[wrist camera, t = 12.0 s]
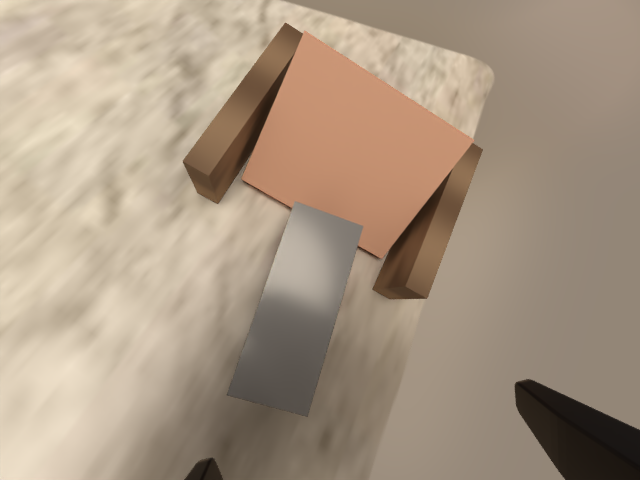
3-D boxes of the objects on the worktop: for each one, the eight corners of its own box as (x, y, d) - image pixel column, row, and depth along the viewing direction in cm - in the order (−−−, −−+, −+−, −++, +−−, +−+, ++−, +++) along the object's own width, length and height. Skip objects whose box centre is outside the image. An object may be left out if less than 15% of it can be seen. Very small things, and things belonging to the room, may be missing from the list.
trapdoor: (379, 236, 26) (381, 259, 22) (258, 167, 25) (241, 179, 21) (456, 133, 22) (474, 140, 18) (314, 42, 20) (304, 30, 17)
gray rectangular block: (344, 237, 22) (298, 388, 20) (288, 217, 22) (234, 370, 19) (363, 226, 18) (307, 417, 16) (294, 201, 17) (226, 395, 15)
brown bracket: (390, 299, 23) (427, 298, 18) (197, 192, 21) (182, 161, 16) (440, 177, 26) (482, 149, 22) (278, 76, 24) (285, 22, 20)
